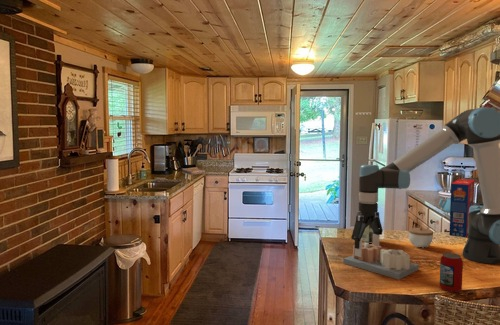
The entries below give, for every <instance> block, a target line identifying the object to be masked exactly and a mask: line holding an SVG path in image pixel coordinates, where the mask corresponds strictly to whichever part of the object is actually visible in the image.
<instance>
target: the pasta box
mask: <svg viewBox="0 0 500 325" xmlns="http://www.w3.org/2000/svg"><path fill="white" fill-rule="evenodd" d="M475 181H476V180H475V179H462V178H458V179H456V180H455V181H453V182H452V183H451V184H450V185H451V186H450V199H451V205H450V213H449V231H448V232H449V236H451V237H458V238H467V239H468V220H469V214H468V213H469V208H470V207H471V206H475V205H474V204H475V202H474V201H475V199H474V198H475Z"/></svg>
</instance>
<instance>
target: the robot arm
mask: <svg viewBox="0 0 500 325" xmlns="http://www.w3.org/2000/svg"><path fill="white" fill-rule="evenodd" d="M465 140H466V142H467V145H468V146H469V147H471V148H472V149H473V154H474V161H475V166H476V171H477V176H478V177H477V178H478V182H479V187H480V192H481V197H482V203H483V204H482V205H474V206H471V207H470V208H469V213H468V214H469V220H468V236H467V240H466V241H465V244H464V247H463V249H462V257H463V258H465V259H466V260H469V261H472V262H477V263H483V264H490V265H491V264H492V265H493V264H494V265H496V264H497V265H498V264H500V145H499V144H500V111H499V110H498V109H496V108H493V107H485V106H483V107H481V106H480V107H477V108H472V109H470V108H469V109H467V110H464V111H463V112H461V113H459V114H457V115H456V116H455V117H453V118H452V119H451V120H449V121H448V122H446V123H445V124H444V125H443V126H442V127H441V129H440V130H439V131H438V132H436V133H434V134H433V135H431V136H430V137H428V138H427V139H425V140H424V141H422V142H421V143H419V144H418V145H417V146H415V147H413V148H411V149H410V150H409V151H408V152H406V153H404V154H402V156H400V157H398V158H397V159H395V160H394V161H392V162H391V163H389V164H388V165H386V166H382V167H380V168H379V165H378V164H362V165H361V166H359V167H360V168H359V175H358V177H359V178H358V180H359V182H358V183H359V184H358V185H359V186H358V188H359V189H358V201H359V202H358V211H359V212H361V216H358V215H357V214H356V217H355V223H354V226H353V229H352V234H351V236H350V239H351V240H354V245H355V256H358V257H361V255H362V241H361V238H362V235H363V233H364V231H365V228H366V227H367V226H368V225H370V226H371V228H372V230H373V232H374V234H373V243H372V244H375V246H380V236H382V235H383V226H382V222H381V219H380V211H378V210H379V204H378V202H379V189H397V190H398V189H399V190H401V189H408V188H409V187H410V184H411V175H410V173H411V172H412V171H414V170H415V169H416V168H418V167H419V166H421V165H423V164H424V163H426V162H427V161H429V160H431V159H432V158H434V157H435V156H437V155H438V154H440V153H441V152H442V151H444V150H446V149H448V148H449V147H450V146H452V145H453V144H454V145H458V144H460V143H461V142H463V141H465ZM359 221H360V222H359Z"/></svg>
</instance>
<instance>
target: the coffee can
mask: <svg viewBox="0 0 500 325" xmlns="http://www.w3.org/2000/svg"><path fill="white" fill-rule="evenodd" d="M357 215H358V216H361V212H360V211H359V212H357V213H356V216H357ZM359 222H360V221H359ZM373 234H374V232H373V230H372V228H371V226H370V225H368V226H367V227H366V228H365V231H364V233H363V235H362V238H361V241H362V242H364V243H373Z"/></svg>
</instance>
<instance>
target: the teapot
mask: <svg viewBox="0 0 500 325" xmlns="http://www.w3.org/2000/svg"><path fill="white" fill-rule="evenodd" d="M450 205H451V197H450V198H449V197H447V198H446V199H443V198H441V199H439V202H438V206H439V207H440V208H441V209H442V211H443V212H444V213H448V214H450Z"/></svg>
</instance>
